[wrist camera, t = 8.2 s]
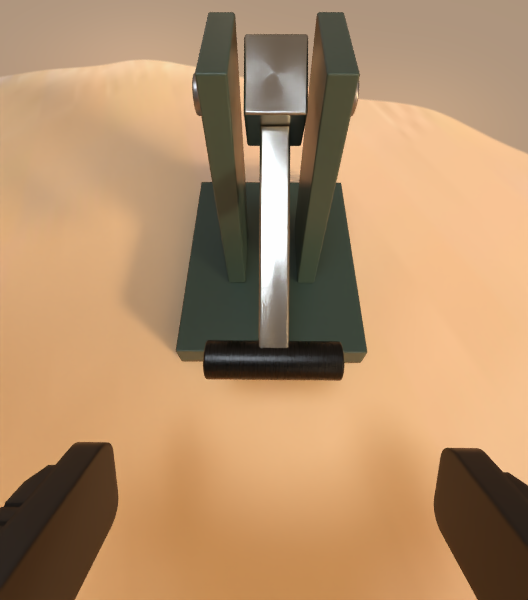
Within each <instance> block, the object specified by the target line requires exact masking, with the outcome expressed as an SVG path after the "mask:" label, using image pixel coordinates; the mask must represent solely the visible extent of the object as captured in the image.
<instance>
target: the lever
mask: <svg viewBox="0 0 528 600" xmlns="http://www.w3.org/2000/svg"><path fill="white" fill-rule="evenodd" d="M307 113H308V36H307V35H306V34H300V35H299V34H285V35H284V34H246V35H245V38H244V118H245V127H246V135H247V144H248V145H249V146H260V207H259V335H258V340H208V341H207V342H206V344H205V348H204V356H203V370H204V376H205V378H206V379H243V380H341V379H342V377H343V373H344V352H343V347H342V344H341V342H339V341H289V238H290V146H300V145H301V142H302V137H303V132H304V128H305V123H306V118H307Z"/></svg>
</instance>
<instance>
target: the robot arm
mask: <svg viewBox="0 0 528 600" xmlns="http://www.w3.org/2000/svg"><path fill="white" fill-rule="evenodd" d="M117 506H118V488H117V479H116V471H115V462H114V454H113V448H112V445H111V444H110V443H104V442H77V443H75V444H73V445H72V446H71V447H70V449H69V450H68V451H67V452H66V453H65V454H64V456H63V457H62V458H61V459H60V460H59V461H58V463H57V464H56V465H48V466H46V467H45V468H44V469H42V470H41V471H39V472H38V473H36V474H35V475H33V476H32V477H31V478H29V479H28V480H26V481H25V482H24V483H23V484H22V485H21V486H20V487H19V488H18V489H17V490H16V491H15V492H14V494H13V495H12V496H11V497H10V498H9V499H8V500H7V501H6V502H5V506H4V507H1V508H0V600H75V598H76V596H77V594H78V592H79V590H80V588H81V586H82V584H83V582H84V580H85V578H86V576H87V574H88V572H89V570H90V568H91V566H92V564H93V562H94V560H95V558H96V556H97V554H98V552H99V550H100V548H101V546H102V544H103V542H104V540H105V538H106V536H107V534H108V532H109V530H110V528H111V526H112V524H113V521H114V519H115V515H116V512H117ZM434 512H435V517H436V521H437V524H438V527H439V529H440V531H441V533H442V535H443V537H444V539H445V541H446V542H447V544H448V546H449V548H450V550H451V552H452V553H453V555H454V557H455V559H456V561H457V563H458V564H459V566H460V568H461V570H462V572H463V574H464V575H465V577H466V579H467V581H468V583H469V585H470V586H471V588H472V590H473V592H474V594H475V596H476V597H477V599H478V600H528V485H526V484H525V483H523V482H522V481H520V480H519V479H517V478H516V477H514V476H513V475H511V474H510V473H509V472H502V471H501V470H500V468H499V467H498V466H497V465H496V464H495V463H494V462H493V461H492V460H491V459H490V457H489V456H488V455H487V454H486V453H485V452H484V451H482V450H481V449H478V448H445V449H444V450H443V451H442V453H441V458H440V464H439V471H438V477H437V484H436V490H435V496H434Z"/></svg>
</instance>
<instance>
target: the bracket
mask: <svg viewBox="0 0 528 600" xmlns="http://www.w3.org/2000/svg"><path fill="white" fill-rule="evenodd" d="M359 76H360V74H359V70H358V66H357V62H356V58H355V54H354V50H353V46H352V43H351V39H350V35H349V31H348V28H347V23H346V19H345V16H344V13H343V12H337V13H336V12H319V13H318V14H317V19H316V29H315V38H314V47H313V56H312V67H311V76H310V86H309V94H308V113H307V118H306V123H305V132H304V142H303V151H302V161H301V170H300V180H299V183H290V238H289V341H339V342H341V344H342V347H343V352H344V362H347V363H360V362H361V361H362V360H363V358H364V357H365V355H366V354H367V347H366V341H365V334H364V328H363V321H362V315H361V309H360V302H359V296H358V289H357V283H356V276H355V270H354V264H353V257H352V251H351V244H350V238H349V231H348V225H347V218H346V212H345V206H344V199H343V193H342V186H341V183H336V180H337V176H338V171H339V167H340V162H341V158H342V153H343V149H344V144H345V140H346V135H347V131H348V126H349V121H350V117H351V116H352V115H353V114H354V112H355V109H356V106H357V101H358V95H359ZM192 90H193V101H194V107H195V110H196V113H197V115H198V116H202V122H203V128H204V134H205V140H206V147H207V153H208V159H209V165H210V171H211V177H212V182H202V184H201V191H200V197H199V204H198V210H197V217H196V223H195V230H194V236H193V243H192V249H191V256H190V262H189V269H188V275H187V282H186V288H185V295H184V301H183V308H182V314H181V321H180V327H179V334H178V340H177V347H176V352H177V354H178V355H179V357H180V359H181V360H182V361H203V356H204V348H205V344H206V342H207V341H208V340H258V335H259V207H260V182H245V167H244V151H243V135H242V119H241V102H240V86H239V71H238V54H237V38H236V22H235V14H234V13H233V12H230V13H229V12H227V13H226V12H224V13H223V12H220V13H219V12H210V13H208V17H207V22H206V27H205V31H204V35H203V40H202V45H201V49H200V53H199V58H198V63H197V67H196V71H195V73H194V75H193V80H192Z"/></svg>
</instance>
